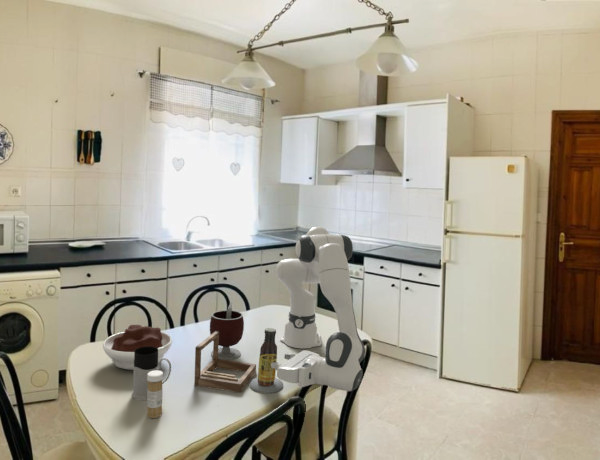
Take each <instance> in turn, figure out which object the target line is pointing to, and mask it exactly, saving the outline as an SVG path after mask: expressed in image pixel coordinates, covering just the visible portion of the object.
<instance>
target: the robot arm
mask: <svg viewBox="0 0 600 460" xmlns="http://www.w3.org/2000/svg"><path fill="white" fill-rule="evenodd" d="M353 252H354V247H353V241H352V240H351V238H350V237H349V236H347V235H344V234H330V233H329V231H328V230H327V229H326V228H324V227H322V226H314V227H311V228H310V229H309V230H308V231H307V233H306V234H303V235H300V236H299V238H298V239H297V240H296V244H295V254H296V257H297V258H286V259H280V260H279V262H277V265H276V266H275V267H276V268H275V275H276V278H277V279H278V280H279V281H280V282H281V283H282V284H283V285H284V286H285V287H286V289H287V291H288V293H289V301H290V302H289V305H290V308H289V311H288V321H287V322H286V323H285V325H284V335H283V336H281V337H280V340H279V341H280V342H282V343H284V344H285V345H287V346H289V347H291V348H295V349H304V350H300V352H298V353H290V352H289V353H288V352H286V353H284V360H287V361H285V362H284V363H283V364H281V363H279V362H277V361H276V362H272V363H271V367H272V368H274V369H276V374H277V376H276V377H277V379H279V380H280V381H284V382H287V383H291V384H295V385H296V384H298V386H299V387H302V388H304V387H305V388H306V387H308V386H310V385H315V384H317V385H320V386H328V387H329V388H332V389H335V390H339V391H345V392H352V391H355V390H356V389H357V388H358V387H359V386H360V384H361V381H362V379H363V373H364V372H363V369H362V368H361V365H360V363H361V362H363V360H364V358H365V355H366V348H365V347H366V346H365V345H364V342H363V341H362V339H361V337H360V334H359V333H358V328H357V322H356V315H355V311H354V305H353V300H352V299H353V297H352V296H353V295H352V288H351V286H352V285H351V276H350V267H349V262H348V261H350V260H351V258H352V256H353ZM304 284H319V286H320V290H321V293H322V294H323V296H324V297H325V298H326V299H327V301H328V302H329V303H330V305H332V307H333V309H334V311H335V314H336V319H337V325H338V331H339V332H335V333H333V334H331V335H330V336H329V337H328V338H327V340H326V344H325V356H320V354H319V353H316V352H313V351H310V350H305V349H310V348H311V349H312V348H315V347H321V346H322V341H321V333H320V332H318V326H317V323H316V312H315V307H316V298H315V297H316V296H315V295H314V294H313V292H311V291H309V290H307V289H305V288H304Z"/></svg>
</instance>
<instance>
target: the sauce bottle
mask: <svg viewBox="0 0 600 460" xmlns="http://www.w3.org/2000/svg"><path fill="white" fill-rule="evenodd" d="M276 335H277V330H276V328H272V327H267V328H265V329H264V339H263V343H262V344H261V347H260V351H259V352H260V353H259V359H258V371H257V378H258V383H259V384H260V385H263V386H270V385H273V384H274V380H275V378H276V373H277V370H276V369H274V368H272V367H271V363H272V362H277V359H278V345H277V344H276Z"/></svg>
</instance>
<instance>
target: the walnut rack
mask: <svg viewBox="0 0 600 460" xmlns="http://www.w3.org/2000/svg"><path fill="white" fill-rule="evenodd" d="M213 340H214V341H213ZM211 343H213V345H212V346H213V349H212V351H213V357H212V360H211V361H210V362H209V363H208V364H207V365H206V366H205V367H204V368H203V369H201V368H202V367H201V365H202V351H203V349H204V348H206V347H207V346H208V345H210V344H211ZM219 348H220V347H219V332H218V331H215V332H214V333H212V334H211V335H209V336H208V337H206V338H205V339H204V340H202V341H201V342H200V343H199V344H198V345H196V346H195V348H194V349H195V353H194V354H195V356H194V384H193V385H194V386H195V387H202V388H206V389H207V388H209V389H214V390H215V389H216V390H223V391H228V392H234V393H241V392H242V391H243V389H245V386H247V384H249V383H250V381H251V380H252V378H253V376H254V375H255V373H256V372H257V363H249V362H244V361H243V362H242V361H237V360H236V361H235V360H222V359H218V349H219ZM216 369H223V370H229V371H237V372H243V373H244V374H243V375H242V376H241V378H240V379H238V382H236V381H229V380H222V379H216V378H209V377H202V376H203V373H206V371H210V372H215V370H216Z"/></svg>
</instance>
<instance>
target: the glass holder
mask: <svg viewBox="0 0 600 460" xmlns="http://www.w3.org/2000/svg"><path fill="white" fill-rule="evenodd" d="M164 360H165V361H166V362H167V363H168V373H167V377H166V379H164V381H162V385H163V384H165V383H166V382H167V381H168V379H169V378H170V376H171V372H172V363H171V361H170V360H169V359H168V358H166V357H163V358H162V359H161V360H160V362H159V363H158V349H157V348H155V347H141V348H138V349H136V350H135V351H134V370H133V376H132V377H133V380H132V381H133V382H132V383H133V386H132V387H133V388H132V392H131V398H133V399H134V400H139V401H147V389H148V380H147V374H148V373H149V372H151V371H155V370H158V371H160V370H161V365H162V361H164Z"/></svg>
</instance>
